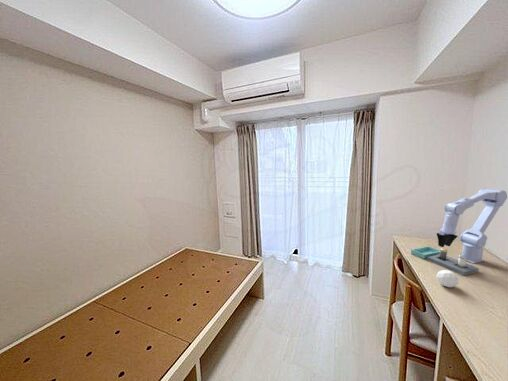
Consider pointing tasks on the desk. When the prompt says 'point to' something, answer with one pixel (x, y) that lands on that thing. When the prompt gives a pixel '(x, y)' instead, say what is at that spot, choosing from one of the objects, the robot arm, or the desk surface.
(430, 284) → the desk surface
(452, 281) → the geometric ball
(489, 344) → the desk surface
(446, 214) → the robot arm
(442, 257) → the led light bulb
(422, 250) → the tray
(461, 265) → the fuse
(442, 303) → the desk surface
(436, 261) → the fuse block
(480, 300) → the desk surface
